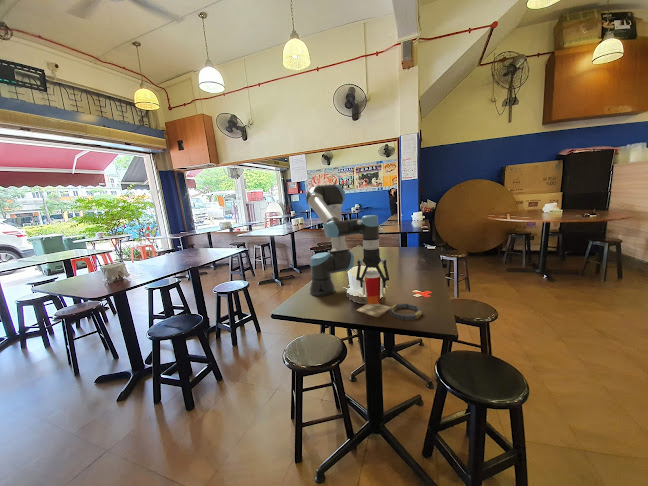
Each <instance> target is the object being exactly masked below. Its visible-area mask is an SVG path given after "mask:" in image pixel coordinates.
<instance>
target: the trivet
mask: <svg viewBox="0 0 648 486" xmlns="http://www.w3.org/2000/svg"><path fill="white" fill-rule="evenodd" d="M390 307H391V306H389V305H388V306H387V305H385V304H381V303H379V304H375V305H373V304H369V303H368V302H367V303H366V304H364V305H363V306H361V307H359V308H357V309H356V311H357V312H359V313H363V314H365V315H368V316H371V317H375V318H379V317H381V316H382V315H384V314H385V313H386V312H388V311H390Z"/></svg>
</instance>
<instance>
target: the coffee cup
mask: <svg viewBox="0 0 648 486" xmlns="http://www.w3.org/2000/svg"><path fill="white" fill-rule="evenodd" d="M364 280H365V294H366V299H367V303H369V304H373V305H375V304H381V303H380V302H381V280H382V278H381V277H380V273H378V271H377V270H367V271H366V273H365V276H364Z"/></svg>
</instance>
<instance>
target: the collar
mask: <svg viewBox="0 0 648 486" xmlns="http://www.w3.org/2000/svg"><path fill="white" fill-rule="evenodd" d="M389 307H390V309H389V312H390V314H391V316H392V317H393V318H395V319H398V320H402V321H413V320H417V319H419V318H420V317H422V310H421V309H420V307H418V305H415V304H410V303H406V302H404V303H395V304H393V305H392V306H389ZM397 309H400V310H401V309H408V310H412V311H415V313H414V314H401V313H398V312H396V310H397Z"/></svg>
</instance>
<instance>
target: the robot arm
mask: <svg viewBox="0 0 648 486" xmlns="http://www.w3.org/2000/svg"><path fill="white" fill-rule="evenodd" d="M305 199H306V204H307V205H308V207H309V208H310V209H313V211H314V212H315V213H316V214H317V217H318V218H319V219H320V221H321V222H322V224H323V232H324V235H325V237H326V238H328V239H331V249H330V251H329V252H330V253H329V252H326V251H324V252H318V253H315V254H314V255H312V256H310V261H309V262H310V273H311V282H310V283H311V284H310V288H309V293H310V294H311V296H315V297H325V296H330V295H332V294H334V293H335V292H336V291H335V290H336V289H335V286H334V283H333V281H332V274H337V273H341V272H347V271H350V269H351V270H352V269H353V267H354V265H355V264H354V263H355V256H354V253H353V252H352V251H350V248H349V247H347V243H346V236H354V235H362V247H363V249H362V250H363V251H362V252H363V259H358V260H357V272H356V281H359V282H360V283H359V284H360V285H359V286H360V288H362V295H366V284H365V277H364V276H365V273H366V271H368V269H371V268H373V269H376V271H378V273H380V277H381V279H380V288H381V296H384V292H385V291H384V290H385V289H386V287H387V285H386V284H387V283H386V282H387V281H388V282H389V281H390V275H389V271H388V266H387V259H386V258H384V259H383V258H382V259H381V254H380V238H379V237H380V235H379V234H380V233H379V232H380V228H379V224H380V223H379V217H378V215H375V214H370V215H369V214H368V215H362V217H361V218H354V219H353V218H352V219H348V220H347V219H345V220H343V216H342V209H341V208H342V207H343V203H345V200H346V193H345V190H344V188H343V187H342V185H340V184H323V185H321V184H320V185H315V186H312V187H311V188H310V189H309V190H308V191H307V192H306V196H305ZM363 263H364V265H365V268H364V270H363V272H362V275H361V269H362V265H363ZM380 263H381V264H382V265H383V269H384V272H383V271H382V269H381V267H380V266H379V265H380ZM360 276H361V277H360Z"/></svg>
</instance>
